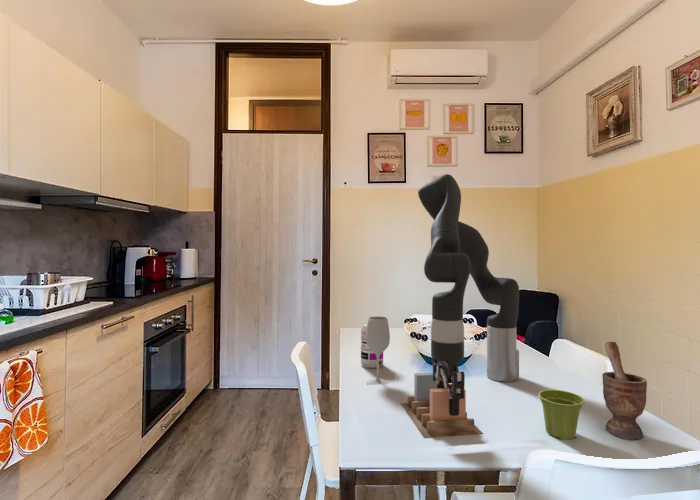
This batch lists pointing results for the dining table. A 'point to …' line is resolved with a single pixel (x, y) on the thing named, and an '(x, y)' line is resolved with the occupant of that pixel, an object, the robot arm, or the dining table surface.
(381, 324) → the wineglass
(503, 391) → the dining table surface
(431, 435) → the dish rack
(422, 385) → the grey-blue thick slab
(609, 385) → the mortar and pestle
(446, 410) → the salmon pink rectangular prism
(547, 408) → the plant pot
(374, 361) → the supplement can
